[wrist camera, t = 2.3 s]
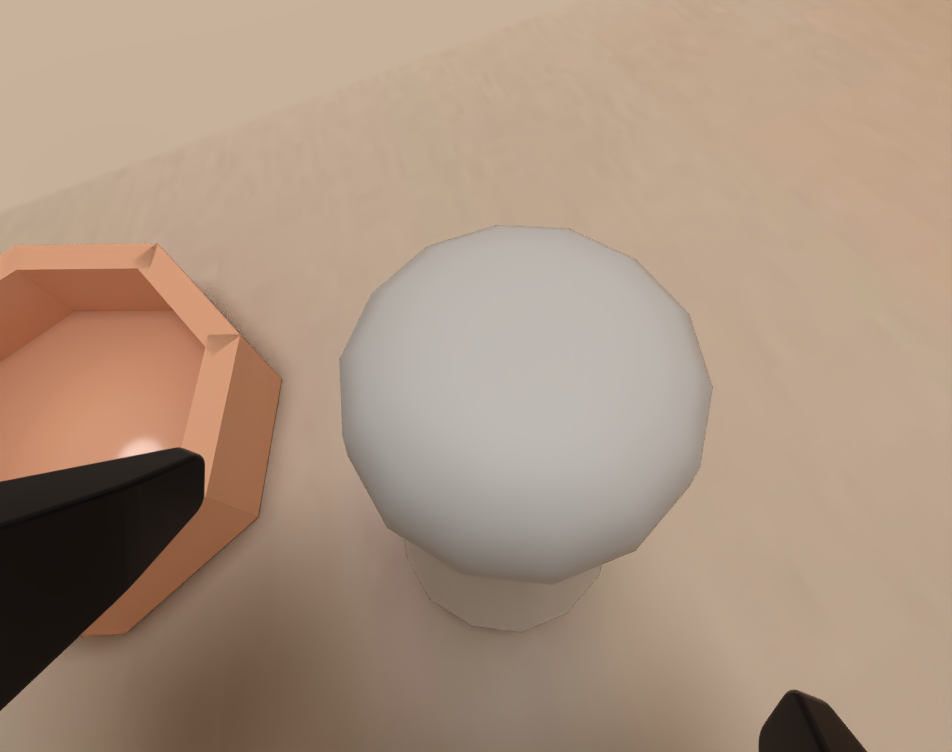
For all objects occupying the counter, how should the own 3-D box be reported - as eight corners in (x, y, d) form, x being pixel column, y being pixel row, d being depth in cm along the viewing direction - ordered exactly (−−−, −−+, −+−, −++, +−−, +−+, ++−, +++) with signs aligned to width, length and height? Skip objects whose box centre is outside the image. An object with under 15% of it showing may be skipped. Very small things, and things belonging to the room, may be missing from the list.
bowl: (18, 727, 16) (-106, 757, 12) (-126, 444, 19) (-251, 411, 16) (340, 444, 19) (308, 410, 15) (162, 248, 22) (107, 187, 19)
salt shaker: (447, 657, 16) (300, 801, 4) (392, 478, 18) (192, 225, 6) (626, 584, 16) (962, 520, 5) (551, 420, 19) (648, 89, 7)
